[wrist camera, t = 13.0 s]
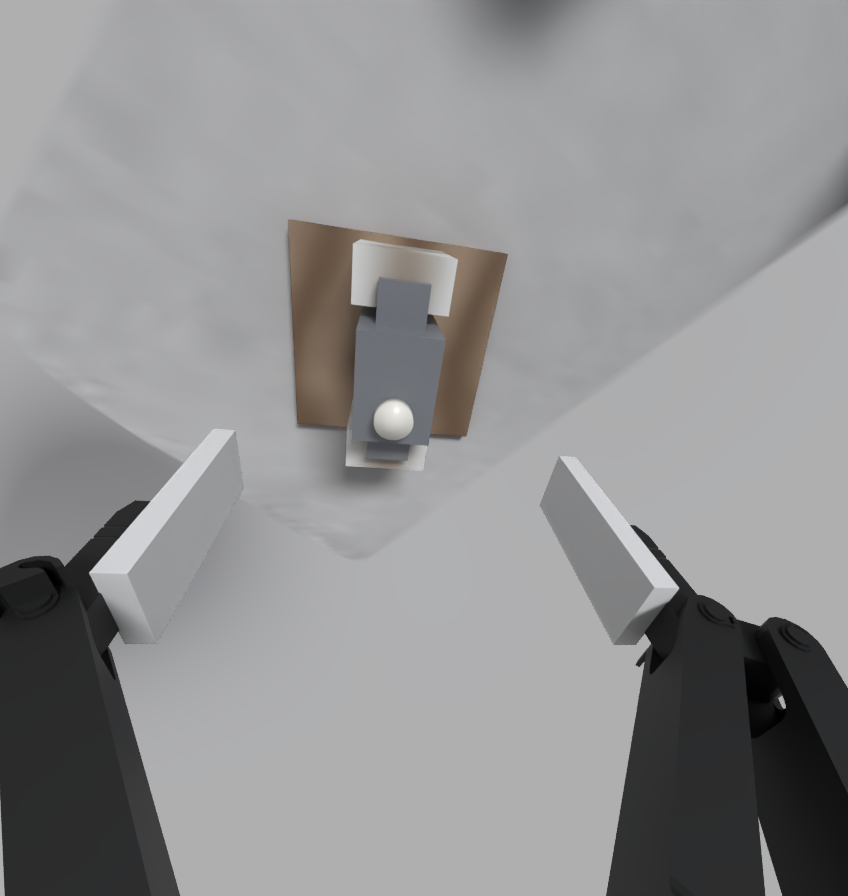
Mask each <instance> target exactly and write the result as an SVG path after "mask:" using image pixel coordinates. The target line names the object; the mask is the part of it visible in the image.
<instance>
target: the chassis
mask: <svg viewBox="0 0 848 896" xmlns="http://www.w3.org/2000/svg"><path fill="white" fill-rule="evenodd" d="M288 228H289V249H290V271H291V292H292V314H293V335H294V357H295V378H296V400H297V421H298V423H300V424H313V425H326V426H338V427H347V441H346V466H353V467H369V468H385V469H401V470H416V471H423V467H424V461H425V455H426V449H427V446H424V445H411V444H410V447H409V454H408V461H400V460H385V459H370V458H367V443H368V441H356V440H352V420H353V395H354V371H355V346H356V329H357V325H358V322H359V318H360V315H361V311H362V308H363V306H369V307H377V294H378V280H379V276H380V277H387V278H394V279H401V280H408V281H415V282H422V283H430V284H431V285H432V287H431V294H430V301H429V309H428V314H431V315H433V316H434V318H435V320H436V322H437V324H438V326H439V328H440V330H441V332H442V334H443V336H444V338H445V339H446V343H445V349H444V355H443V361H442V366H441V372H440V378H439V384H438V390H437V396H436V402H435V408H434V414H433V420H432V426H431V432H430V434H440V435H453V436H466V435H467V431H468V426H469V422H470V418H471V413H472V409H473V405H474V400H475V396H476V391H477V387H478V383H479V378H480V374H481V369H482V365H483V361H484V356H485V352H486V348H487V343H488V339H489V334H490V330H491V326H492V321H493V317H494V312H495V308H496V304H497V299H498V295H499V290H500V286H501V282H502V277H503V273H504V269H505V264H506V260H507V255H508V254H505V253H499V252H493V251H486V250H480V249H474V248H467V247H461V246H455V245H448V244H442V243H436V242H429V241H423V240H417V239H410V238H404V237H398V236H391V235H385V234H379V233H372V232H366V231H360V230H353V229H347V228H341V227H334V226H328V225H322V224H315V223H309V222H302V221H296V220H288Z"/></svg>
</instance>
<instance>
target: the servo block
mask: <svg viewBox="0 0 848 896" xmlns="http://www.w3.org/2000/svg"><path fill="white" fill-rule="evenodd" d="M431 287H432V285H431V284H430V283H422V282H415V281H408V280H401V279H394V278H387V277H380V276H379V280H378V294H377V307H369V306H363V308H362V311H361V315H360V318H359V322H358V325H357V329H356V346H355V371H354V395H353V420H352V440H356V441H368V443H367V458H370V459H385V460H400V461H408V454H409V447H410V444H411V445H424V446H428V444H429V438H430V432H431V426H432V420H433V414H434V408H435V402H436V396H437V390H438V384H439V378H440V372H441V366H442V361H443V355H444V349H445V343H446V339H445V338H444V336H443V334H442V332H441V330H440V328H439V326H438V324H437V322H436V320H435V318H434V316H433V315H431V314H428V309H429V301H430V294H431Z"/></svg>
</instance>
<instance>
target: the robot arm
mask: <svg viewBox="0 0 848 896" xmlns="http://www.w3.org/2000/svg"><path fill="white" fill-rule="evenodd" d="M243 488H244V486H243V479H242V472H241V465H240V459H239V452H238V445H237V439H236V432H235V430H225V429H213V430H212V431H211V432H210V433H209V435H208V436H207V437H206V438H205V439H204V440H203V442H202V443H201V444H200V445H199V446H198V447H197V449H196V450H195V451H194V452H193V453H192V454H191V455H190V457H189V458H188V459H187V460H186V461H185V462H184V464H183V465H182V466H181V467H180V468H179V469H178V471H177V472H176V473H175V474H174V475H173V476H172V478H171V479H170V480H169V481H168V482H167V483H166V484H165V486H164V487H163V488H162V489H161V490H160V491H159V492H158V494H157V495H156V496H155V497H154V498H153V499H152V501H134V502H132V503H131V504H129V505H127V506H126V507H124V508H122V509H121V510H119V511H117V512H116V513H115V514H114V515H113V516H112V518H111V519H110V520H109V521H108V522H107V523H106V524H105V525H104V528H101V529H100V530H99V531H98V532H97V534H95V536H94V538H93V539H91V540H90V541H89V542H88V543H87V544H86V545H85V546H84V547H83V548H82V549H81V550H80V551H79V552H78V553H77V554H76V555H75V556H74V557H73V559H72V560H71V561H70V562H69V563H68V564H67V565H66V566H65V567H64V565H63V564H62V562H61V561H60V560H59V559H58V558H54V557H51V556H34V557H30V558H26V559H22V560H19V561H16V562H14V563H11V564H9V565H7V566H4V567H2V568H0V800H1V822H2V842H3V866H4V888H5V896H180V894H179V890H178V887H177V883H176V879H175V876H174V872H173V869H172V865H171V862H170V858H169V855H168V851H167V848H166V844H165V840H164V837H163V833H162V830H161V827H160V823H159V819H158V816H157V812H156V809H155V805H154V801H153V798H152V795H151V791H150V787H149V784H148V780H147V777H146V773H145V770H144V766H143V762H142V759H141V756H140V752H139V748H138V745H137V741H136V738H135V735H134V731H133V727H132V723H131V720H130V716H129V713H128V709H127V706H126V702H125V699H124V695H123V692H122V688H121V685H120V681H119V678H118V674H117V671H116V667H115V663H114V660H113V656H112V653H111V651H110V649H109V647H108V646H109V644H110V643H111V641H112V640H113V638H114V637H115V635H116V634H117V632H119V634H120V635H121V638H122V639H123V641H124V643H125V644H157V643H158V641H159V639H160V638H161V636H162V634H163V632H164V630H165V628H166V627H167V625H168V623H169V621H170V620H171V618H172V616H173V614H174V612H175V611H176V609H177V607H178V605H179V603H180V602H181V600H182V598H183V596H184V594H185V593H186V591H187V589H188V587H189V585H190V584H191V582H192V580H193V578H194V576H195V575H196V573H197V571H198V569H199V567H200V566H201V564H202V562H203V560H204V558H205V557H206V555H207V553H208V551H209V549H210V547H211V546H212V544H213V542H214V541H215V539H216V537H217V535H218V533H219V532H220V529H221V528H222V526H223V524H224V523H225V521H226V519H227V517H228V515H229V514H230V512H231V510H232V508H233V506H234V505H235V503H236V501H237V499H238V497H239V496H240V494H241V492H242V490H243ZM540 507H541V508H542V510H543V512H544V514H545V516H546V518H547V520H548V522H549V524H550V525H551V527H552V529H553V531H554V533H555V535H556V537H557V538H558V540H559V542H560V544H561V546H562V548H563V550H564V552H565V554H566V556H567V558H568V559H569V561H570V563H571V565H572V567H573V569H574V571H575V573H576V574H577V576H578V578H579V580H580V582H581V584H582V586H583V588H584V590H585V592H586V593H587V595H588V597H589V599H590V601H591V603H592V605H593V607H594V609H595V611H596V612H597V614H598V616H599V618H600V620H601V622H602V623H603V625H604V628H605V629H606V631H607V633H608V635H609V637H610V639H611V641H612V643H613V644H614V645H636V644H637V643H638V641H639V640H640V639H641V637H642V636H643V635H644V634H646V636H647V637H648V639H649V640H650V642H651V645H650V646H649V648H648V649H647V650H646V651H645V652H644V653H643V655H642V656H641V657H640V658H639V660H638V661H637V663H636V665H637V666H638V667H640V666H641V665H642V663H643V662H645V664H644V670H643V676H642V682H641V688H640V694H639V700H638V706H637V713H636V719H635V724H634V730H633V736H632V742H631V749H630V755H629V761H628V767H627V773H626V779H625V785H624V792H623V798H622V803H621V810H620V816H619V822H618V828H617V833H616V840H615V846H614V852H613V858H612V864H611V870H610V876H609V882H608V888H607V894H606V896H765V887H764V876H763V866H762V855H761V845H760V833H759V822H758V817H759V820H760V824H761V827H762V830H763V834H764V837H765V840H766V843H767V847H768V850H769V853H770V856H771V860H772V863H773V866H774V870H775V873H776V876H777V880H778V883H779V886H780V889H781V893H782V896H848V688H847V686H846V685H845V683H844V681H843V680H842V678H841V676H840V675H839V673H838V671H837V670H836V668H835V666H834V665H833V663H832V661H831V660H830V658H829V657H828V655H827V653H826V651H825V650H824V648H823V647H822V646H821V645H820V643H819V642H818V641H817V640H816V639H815V638H814V637H813V636H812V635H810V634H809V633H808V632H807V631H806V630H804V629H803V628H801V627H800V626H798V625H796V624H794V623H792V622H790V621H788V620H786V619H781V618H778V617H772V618H769V619H768V620H767V621H766V622H765V623H763V625H761V626H757V625H754V624H751V623H747V622H744V621H740V620H737V619H736V618H735V617H734V615H733V614H732V613H731V612H730V611H729V610H728V609H726V608H725V607H724V606H723V605H721V604H720V603H718V602H717V601H715V600H713V599H711V598H708V597H705V596H703V595H697V594H696V593H695V591H694V590H693V589H692V588H691V587H690V586H689V584H688V583H687V582H686V581H685V579H684V578H683V577H682V576H681V574H680V573H679V572H678V571H677V570H676V569H675V567H674V566H673V565H672V564H671V562H670V561H669V560H667V559H666V556H665V555H664V554H663V553H662V552H661V550H658V547H657V546H656V544H655V543H654V542H653V541H652V539H651V538H650V537H649V536H648V535H647V534H646V533H644V532H643V531H642V530H640V529H639V528H638V527H636V526H634V525H629V524H628V523H627V521H626V520H625V519H624V518H623V516H622V515H621V514H620V513H619V511H618V510H617V509H616V507H615V506H614V505H613V504H612V502H611V501H610V500H609V499H608V498H607V496H606V495H605V494H604V492H603V491H602V490H601V489H600V487H599V486H598V485H597V484H596V482H595V481H594V480H593V478H592V477H591V476H590V475H589V473H588V472H587V471H586V470H585V468H584V467H583V466H582V465H581V463H580V462H579V461H578V460H577V458H576V457H567V456H559V457H558V460H557V463H556V465H555V468H554V470H553V473H552V475H551V478H550V480H549V483H548V485H547V488H546V490H545V493H544V495H543V498H542V500H541V503H540ZM780 696H783V698H784V700H785V704H786V708H785V709H783V708H782V706H781V704H780V702H779V699H778V698H779V697H780Z"/></svg>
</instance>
